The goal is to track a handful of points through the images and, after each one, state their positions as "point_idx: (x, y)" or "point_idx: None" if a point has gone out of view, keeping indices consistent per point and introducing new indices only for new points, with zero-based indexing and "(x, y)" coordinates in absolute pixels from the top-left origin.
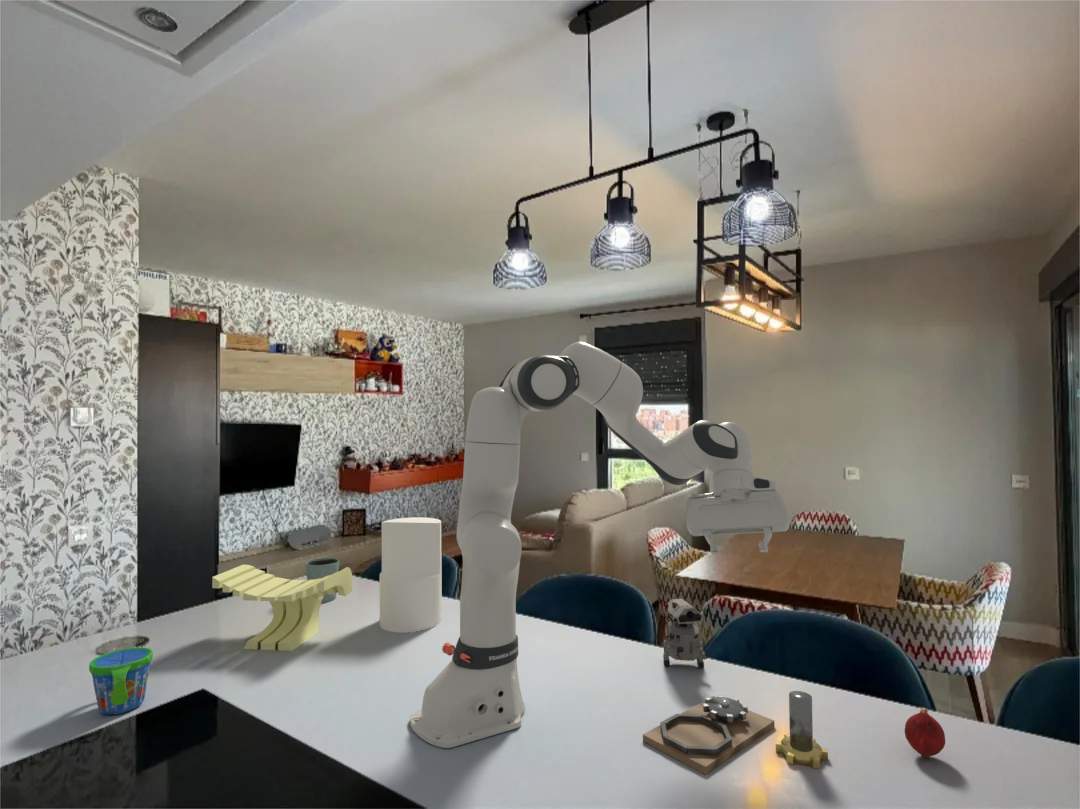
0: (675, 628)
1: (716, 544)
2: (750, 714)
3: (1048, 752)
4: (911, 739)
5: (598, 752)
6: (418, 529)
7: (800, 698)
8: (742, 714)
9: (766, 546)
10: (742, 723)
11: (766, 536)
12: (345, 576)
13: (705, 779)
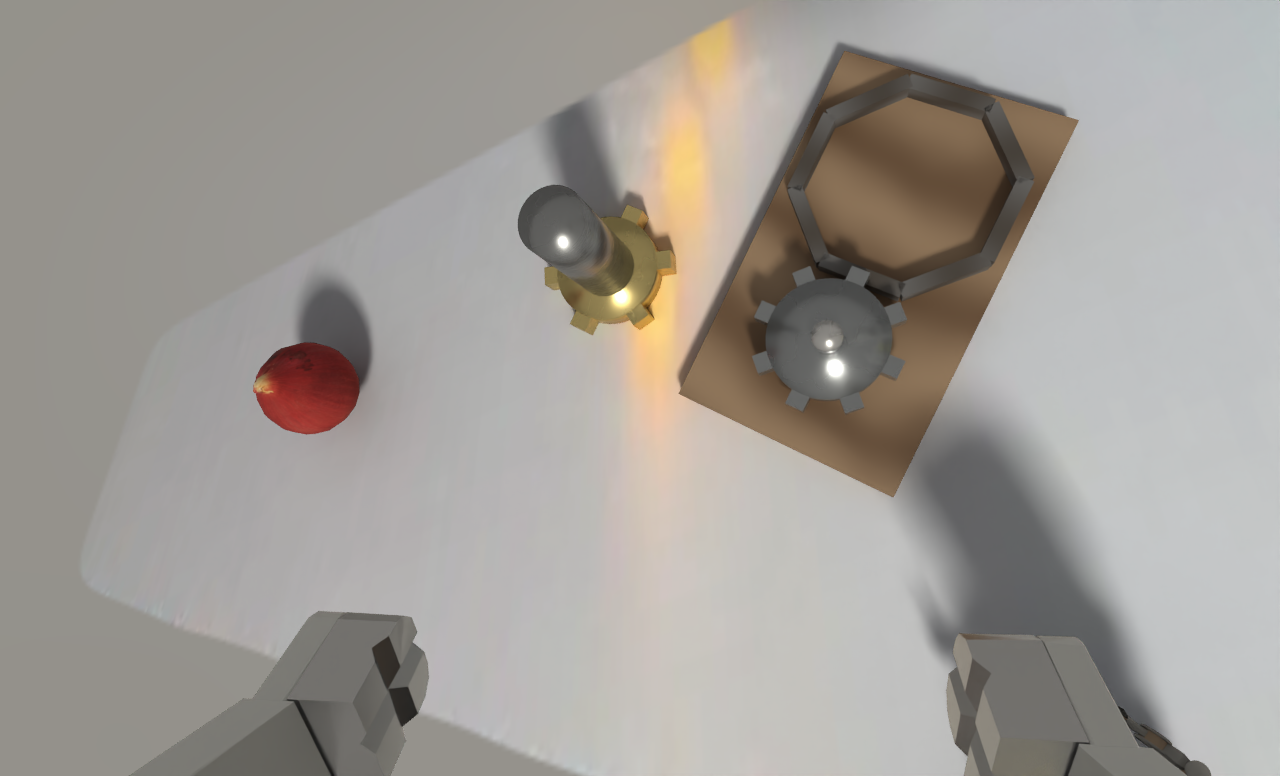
0: None
1: (1009, 714)
2: (751, 405)
3: (121, 524)
4: (343, 359)
5: (1198, 3)
6: None
7: (551, 200)
8: (764, 302)
9: (306, 625)
10: None
11: (200, 752)
12: None
13: (841, 42)
